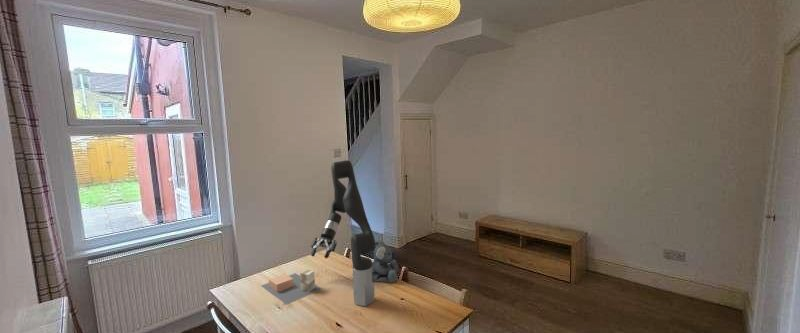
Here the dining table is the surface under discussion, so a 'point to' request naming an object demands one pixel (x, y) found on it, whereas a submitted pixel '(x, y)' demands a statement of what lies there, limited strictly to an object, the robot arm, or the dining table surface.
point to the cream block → (307, 280)
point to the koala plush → (384, 264)
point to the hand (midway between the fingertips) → (318, 256)
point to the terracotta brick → (281, 282)
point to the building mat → (291, 291)
